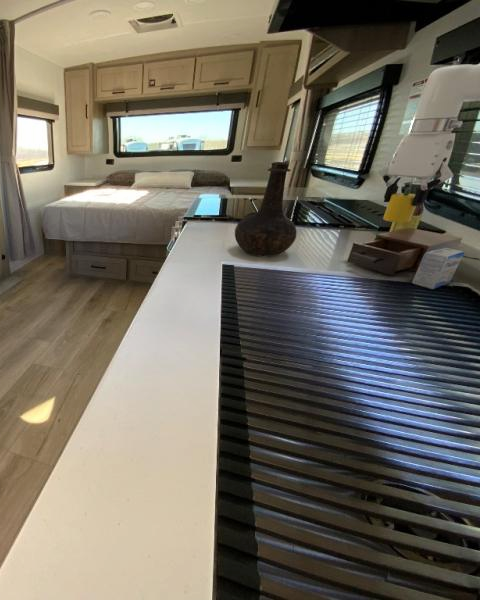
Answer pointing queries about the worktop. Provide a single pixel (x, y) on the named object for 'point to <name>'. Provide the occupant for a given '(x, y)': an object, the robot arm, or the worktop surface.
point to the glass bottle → (268, 220)
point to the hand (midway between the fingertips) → (402, 202)
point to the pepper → (400, 207)
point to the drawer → (384, 255)
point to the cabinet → (421, 241)
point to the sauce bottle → (416, 214)
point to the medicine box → (437, 267)
